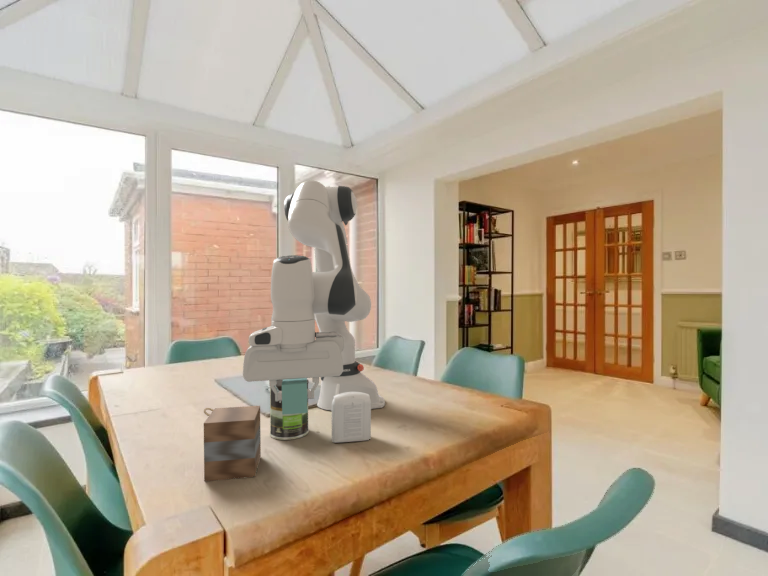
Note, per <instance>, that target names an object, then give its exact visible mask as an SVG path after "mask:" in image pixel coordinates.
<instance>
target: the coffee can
mask: <svg viewBox="0 0 768 576" xmlns="http://www.w3.org/2000/svg"><path fill="white" fill-rule="evenodd" d="M282 381H283V380H277V384H276V387H277V388H278V390H279V391H282ZM309 383H310V382H309V379H307V389H309ZM269 398H270V399H269V400H270V401H269V405H270V406H269V412H270V413H269V414H270V415H269V417H270V421H269V422H270V423H269V425H270V427H269V431H270V433H269V436H270V437H271V438H272V439H275V440H278V441H291V440H292V441H293V440H296V439H297V440H298V439H300V438H304V437H306V436H307V435H308V433H309V412H308V413H296V414H284V415H282V401H275V393H274V392H273V390H272V389H271V387H270V386H269ZM307 407H308V408H309V399H307Z"/></svg>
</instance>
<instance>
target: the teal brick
mask: <svg viewBox="0 0 768 576" xmlns="http://www.w3.org/2000/svg"><path fill="white" fill-rule="evenodd" d="M307 380H308V378H300V379H284V380H283V381H282V415H284V414H296V413H308V414H309V406H308V407H307Z"/></svg>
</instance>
